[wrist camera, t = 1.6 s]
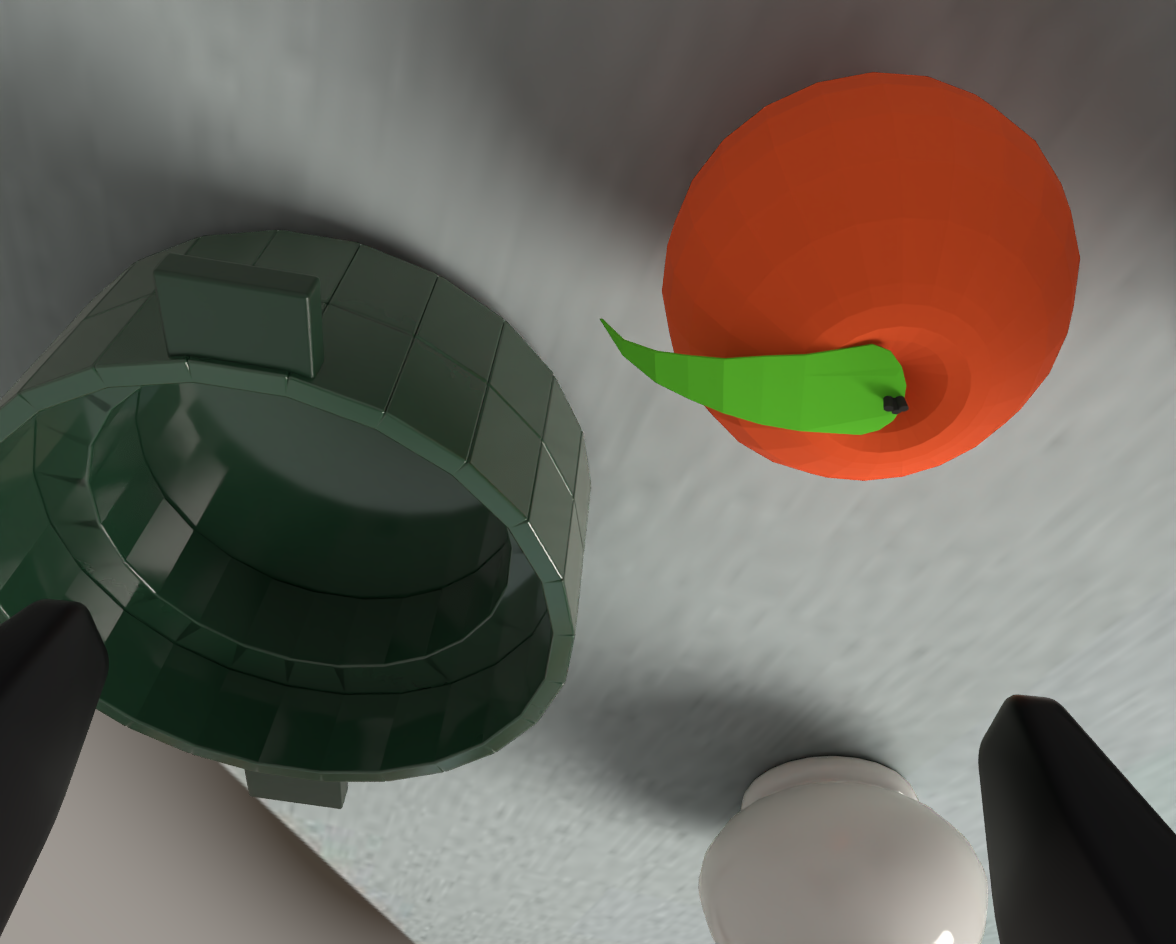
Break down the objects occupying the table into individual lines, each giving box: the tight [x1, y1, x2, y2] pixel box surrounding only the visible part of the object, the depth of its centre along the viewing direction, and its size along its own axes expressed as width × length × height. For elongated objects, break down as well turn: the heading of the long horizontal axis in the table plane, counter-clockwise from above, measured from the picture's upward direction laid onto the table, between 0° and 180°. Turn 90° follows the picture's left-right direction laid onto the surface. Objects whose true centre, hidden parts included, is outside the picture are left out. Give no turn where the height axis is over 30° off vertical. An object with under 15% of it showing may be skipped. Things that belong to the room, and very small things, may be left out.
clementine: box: [600, 72, 1080, 481], centre depth 17 cm, size 8×7×7 cm
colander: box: [0, 230, 591, 782], centre depth 23 cm, size 13×13×6 cm
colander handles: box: [153, 253, 348, 809], centre depth 21 cm, size 3×17×1 cm, turn 172°
